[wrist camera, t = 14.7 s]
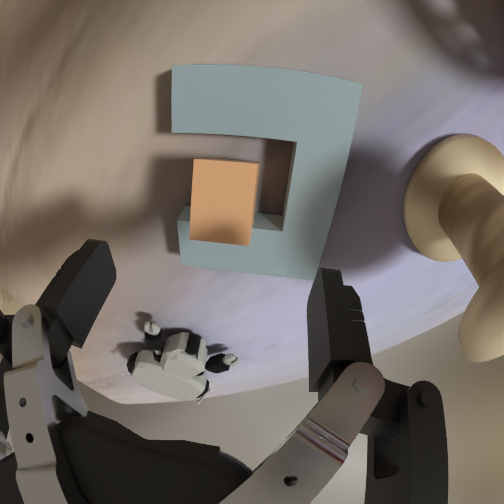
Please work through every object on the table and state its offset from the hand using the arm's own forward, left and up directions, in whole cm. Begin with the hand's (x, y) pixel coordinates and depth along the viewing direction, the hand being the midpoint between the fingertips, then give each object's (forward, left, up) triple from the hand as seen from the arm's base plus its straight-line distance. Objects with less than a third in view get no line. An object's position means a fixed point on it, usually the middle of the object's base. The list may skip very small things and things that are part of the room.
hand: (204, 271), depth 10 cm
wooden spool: (-1, +17, -10) cm, 20 cm away
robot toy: (+25, -7, -10) cm, 28 cm away
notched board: (0, +1, -10) cm, 10 cm away
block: (+1, 0, -9) cm, 9 cm away
